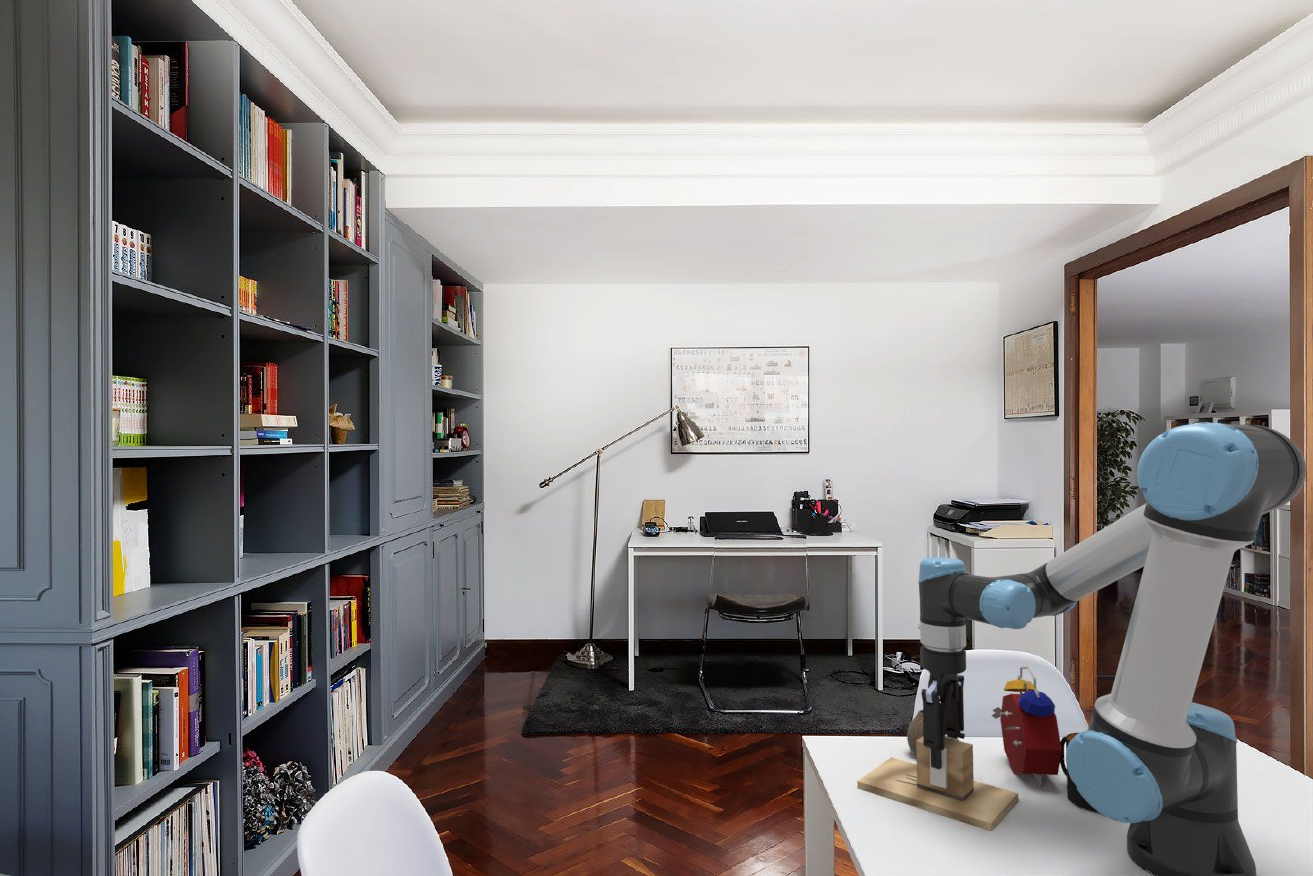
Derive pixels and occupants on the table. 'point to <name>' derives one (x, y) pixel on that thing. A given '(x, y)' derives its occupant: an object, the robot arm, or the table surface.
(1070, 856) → the table surface
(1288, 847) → the table surface
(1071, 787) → the mug
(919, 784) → the wooden block
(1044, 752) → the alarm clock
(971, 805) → the board
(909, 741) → the vase
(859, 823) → the table surface
